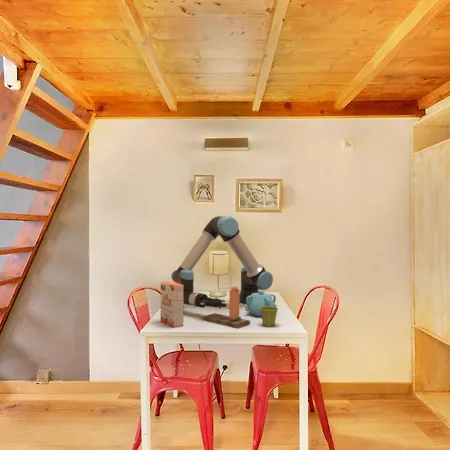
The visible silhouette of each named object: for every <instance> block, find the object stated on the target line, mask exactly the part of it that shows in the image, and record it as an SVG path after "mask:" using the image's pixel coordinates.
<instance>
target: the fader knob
mask: <svg viewBox="0 0 450 450" xmlns="http://www.w3.org/2000/svg"><path fill="white" fill-rule="evenodd" d="M239 294H240V289H239V286H231V287H230V290H229V302H228V303H229V309H228V312H229V314H228V316H229V318H228V320H231V321H236V320H239V319H242V317H241V316H240V302H239Z"/></svg>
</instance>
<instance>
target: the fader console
mask: <svg viewBox="0 0 450 450" xmlns="http://www.w3.org/2000/svg"><path fill="white" fill-rule="evenodd" d="M228 318H229V315H225V314H221V313H217V312H214V313H211V314H206V315H203V316H202V321H205V322H209V323H213V324H218V325H222V326H227V327H230V328H234V329H241V328H243V327H246V326H250V325H251V320H249V319H244V318H241V319H239V320H236V321H231V320H228Z"/></svg>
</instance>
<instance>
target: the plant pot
mask: <svg viewBox="0 0 450 450" xmlns="http://www.w3.org/2000/svg"><path fill="white" fill-rule="evenodd" d="M260 310H261V315H262V316H261V320H262V321H261V322H262V326H265V327H274V326H275V325H276V318H277V313H278V310H279V308H278V307H277V306H276V307H270V306H264V307H260ZM273 325H274V326H273Z"/></svg>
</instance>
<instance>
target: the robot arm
mask: <svg viewBox="0 0 450 450" xmlns="http://www.w3.org/2000/svg"><path fill="white" fill-rule="evenodd" d="M201 231H202V232H201V233H202V234H201V235H200V236H199V238H198V240H197V241H196V242H195V244H194V245H193V246H192V248H191V249H190V250H189V252H188V254H187V255H186V256H185V258H184V259H183V261H182V262H181V264H180V265H179V267H178V268H177V269H176V270H174V271H173V272H172V273H171V276H170V278H171V280H172V282H174V283H178V284H182V285H184V290H183V305H188V306H193V307H194V308H196V307H198V308H202V309H203V308H206V307H210V308H218V309H219V310H220V309H223V308H224V309H228V310H229V302H227V301H226V300H224V299H220V298H217V297H215V298H213V297H211V296H210V297H209V296H208V295H207V293H206V294H205V293H202V292H196V291H194V279H195V278H194V277H195V276H194V275H195V274H194V273H195V272H194V270H193V269H194V268H195V266H196V265H197V264H198V262H199V261H200V259H201V258H202V256H203V255H204V253H205V252H206V251H207V250H208V248H209V246H210V245H211V244H212V242H213V241H216V239H217V238H218V237H220V238H221V239H222V241H223V242H224V243H228V245H229V247H230V249H231V250H232V251H233V253H234V254H235V256H236V257H237V258H238V260H239V262H240V263H241V265H242V266H243V267H242V268H241V270H240V290H239V304H245V305H247V303H246V298H247V297H248V296H251V294H252V293H259V292H258V291H267V290H268V289H270V288H271V287H272V285H273V282H274V276H273V274H272V273H271V272H269V271H267V270H266V269H265V266H264V265H263V264H259V262H258V261H257V258H255V256H254V254H253V253H252V252H251V250H250V249H249V247H248V246H247V244H246V242H245V241H244V240H243V238H242V237H241V235H240V233H241V231H240V229H239V223H238V220H237V219H235V218H234V217H232V216H229V215H224V216H219V215H218V216H214V217H213V218H212V219H210V220H209V221H208V223H206V225H205V227H204V228H203V229H202V230H201ZM248 301H249V299H248Z"/></svg>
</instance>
